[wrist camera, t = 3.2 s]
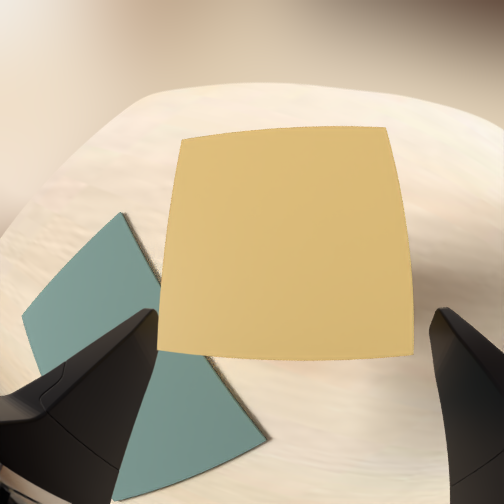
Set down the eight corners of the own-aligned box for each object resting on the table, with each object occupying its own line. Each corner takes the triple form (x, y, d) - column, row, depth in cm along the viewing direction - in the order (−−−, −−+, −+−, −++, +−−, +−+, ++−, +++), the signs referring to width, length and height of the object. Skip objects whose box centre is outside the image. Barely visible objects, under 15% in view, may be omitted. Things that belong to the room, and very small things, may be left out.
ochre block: (337, 337, 16) (413, 354, 4) (264, 337, 17) (157, 349, 5) (337, 265, 17) (385, 127, 5) (266, 266, 18) (181, 139, 6)
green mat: (266, 438, 15) (266, 440, 15) (116, 500, 15) (114, 501, 15) (122, 213, 22) (120, 211, 21) (23, 316, 22) (21, 315, 21)
